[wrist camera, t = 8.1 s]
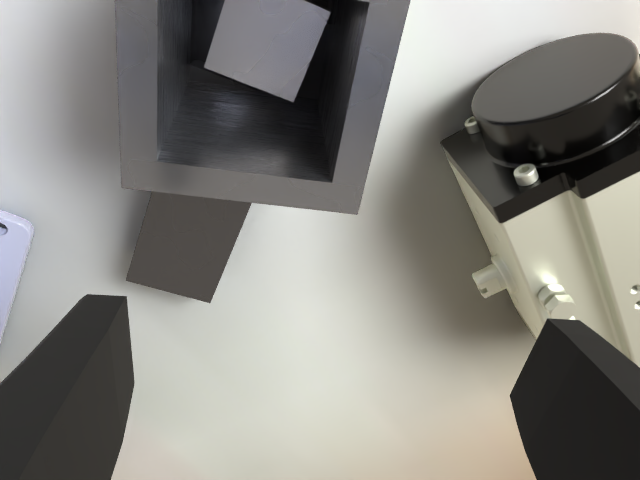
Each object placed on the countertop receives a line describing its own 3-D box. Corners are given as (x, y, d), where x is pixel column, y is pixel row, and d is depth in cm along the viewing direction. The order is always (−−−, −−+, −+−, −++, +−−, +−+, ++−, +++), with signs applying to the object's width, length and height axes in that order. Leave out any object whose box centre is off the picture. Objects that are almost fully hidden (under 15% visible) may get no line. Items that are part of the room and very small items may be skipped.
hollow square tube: (162, 101, 15) (121, 188, 11) (165, -106, 13) (111, -92, 8) (336, 125, 16) (357, 215, 12) (374, -65, 13) (419, -35, 9)
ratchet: (194, -171, 13) (167, -184, 10) (409, -61, 15) (449, -40, 11) (93, 241, 20) (55, 319, 16) (251, 286, 21) (246, 364, 18)
